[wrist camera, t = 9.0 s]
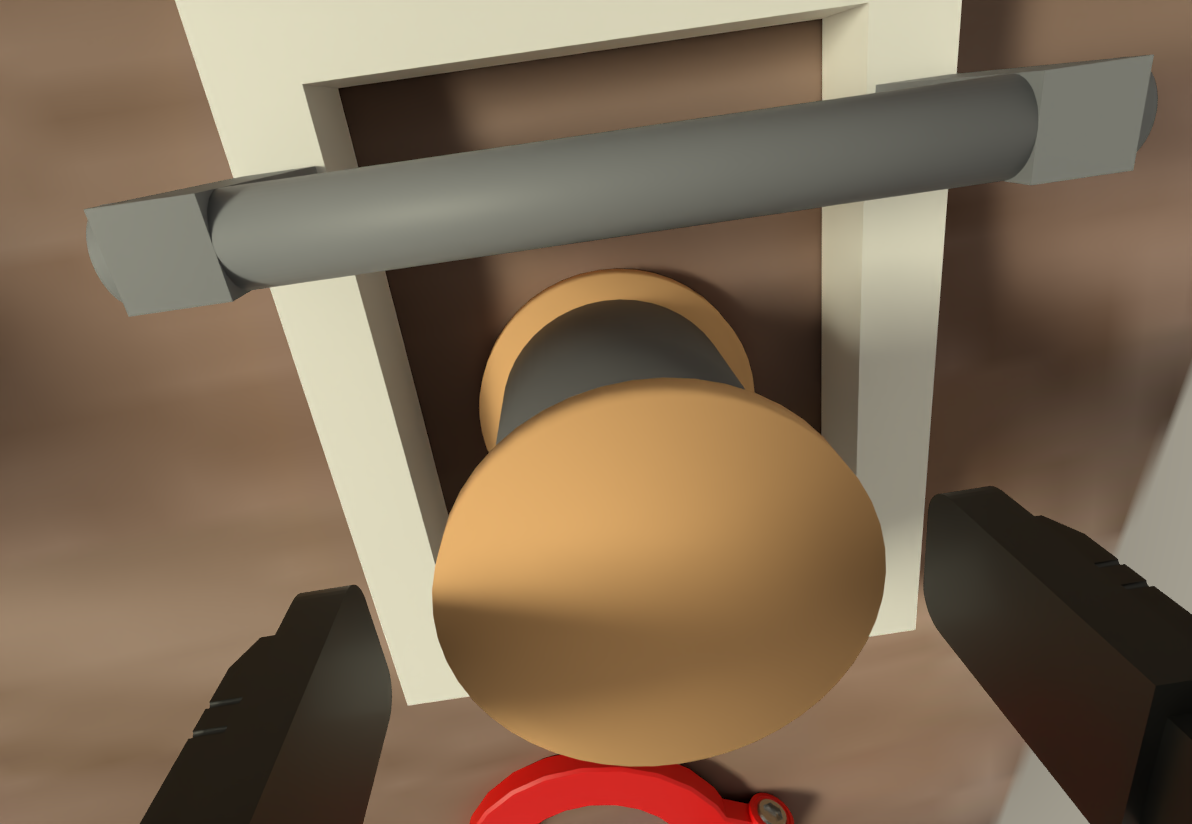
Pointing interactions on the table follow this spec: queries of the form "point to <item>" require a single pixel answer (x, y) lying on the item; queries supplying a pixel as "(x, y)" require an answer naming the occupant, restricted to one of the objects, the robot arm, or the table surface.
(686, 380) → the cord spool
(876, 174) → the white frame with rod
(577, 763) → the tow hook
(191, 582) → the table surface
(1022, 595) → the robot arm
